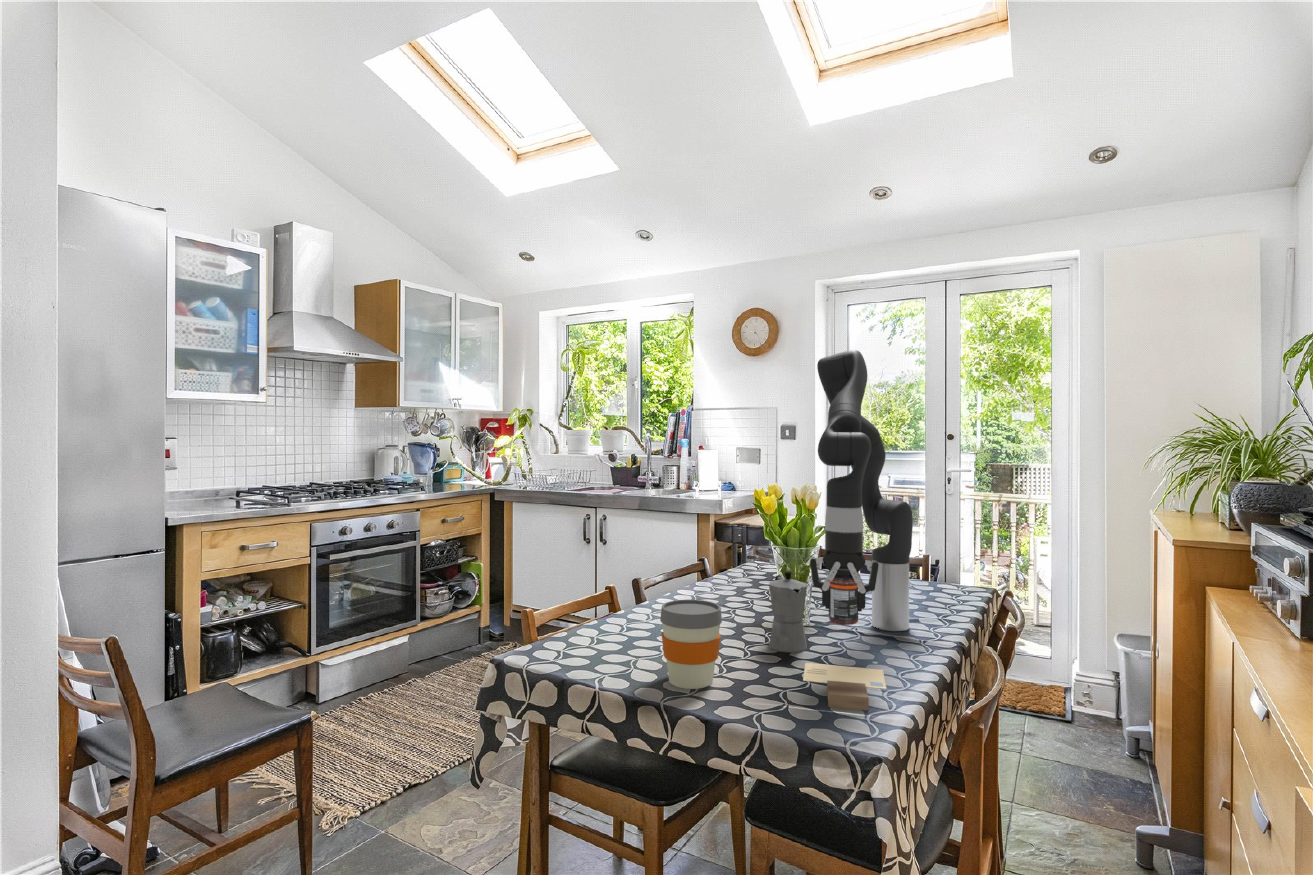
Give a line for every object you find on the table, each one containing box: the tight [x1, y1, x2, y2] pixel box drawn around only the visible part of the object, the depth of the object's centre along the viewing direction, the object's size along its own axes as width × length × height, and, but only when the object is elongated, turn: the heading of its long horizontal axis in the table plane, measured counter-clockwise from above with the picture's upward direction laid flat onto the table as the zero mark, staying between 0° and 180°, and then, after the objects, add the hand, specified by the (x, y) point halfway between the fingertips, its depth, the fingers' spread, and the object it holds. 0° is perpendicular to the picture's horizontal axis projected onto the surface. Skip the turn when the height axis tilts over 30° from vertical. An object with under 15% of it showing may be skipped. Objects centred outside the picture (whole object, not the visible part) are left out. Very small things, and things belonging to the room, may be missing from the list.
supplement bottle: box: [828, 568, 859, 626], centre depth 136 cm, size 6×6×11 cm
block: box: [826, 681, 870, 712], centre depth 123 cm, size 7×7×3 cm
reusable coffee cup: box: [660, 599, 723, 690], centre depth 134 cm, size 12×13×15 cm
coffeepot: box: [768, 570, 808, 654], centre depth 156 cm, size 15×9×18 cm, turn 8°
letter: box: [802, 662, 887, 690], centre depth 136 cm, size 11×16×1 cm
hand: (843, 609), depth 136 cm, fingers closed on supplement bottle, 6 cm apart
